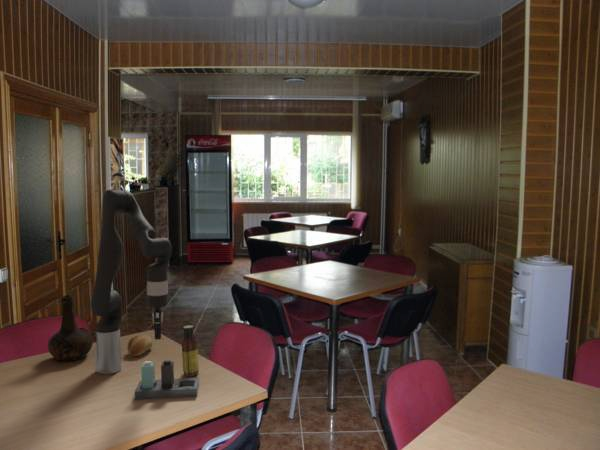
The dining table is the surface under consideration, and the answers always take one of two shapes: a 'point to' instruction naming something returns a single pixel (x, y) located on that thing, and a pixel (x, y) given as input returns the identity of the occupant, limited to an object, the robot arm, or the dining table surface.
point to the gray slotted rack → (168, 385)
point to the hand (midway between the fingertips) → (158, 335)
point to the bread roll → (139, 345)
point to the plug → (148, 375)
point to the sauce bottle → (189, 352)
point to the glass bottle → (69, 335)
